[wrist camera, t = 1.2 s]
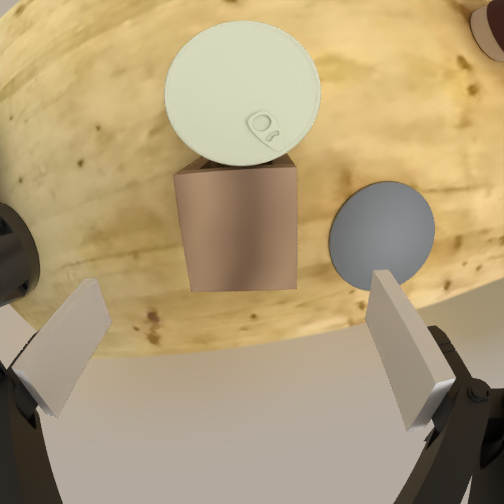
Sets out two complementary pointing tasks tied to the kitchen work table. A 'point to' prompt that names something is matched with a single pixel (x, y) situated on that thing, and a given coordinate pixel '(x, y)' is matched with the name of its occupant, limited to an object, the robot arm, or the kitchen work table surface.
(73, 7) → the kitchen work table surface
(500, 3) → the coffee cup
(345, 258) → the rubber mat
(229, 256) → the wooden stool
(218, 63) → the can
